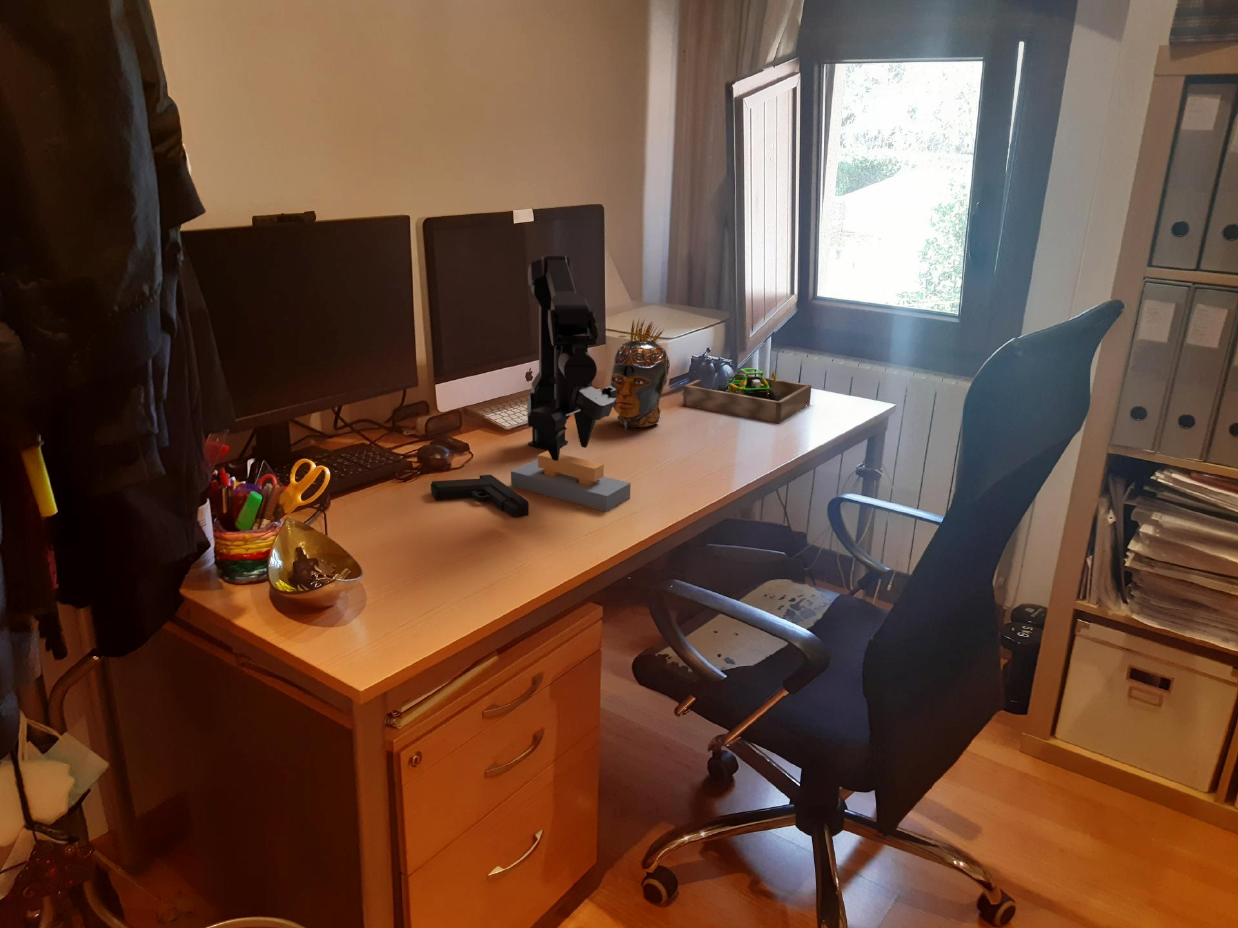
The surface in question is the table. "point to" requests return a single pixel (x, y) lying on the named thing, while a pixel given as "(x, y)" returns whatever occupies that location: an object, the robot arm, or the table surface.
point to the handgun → (482, 493)
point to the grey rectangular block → (571, 487)
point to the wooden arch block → (571, 468)
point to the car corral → (750, 400)
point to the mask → (639, 378)
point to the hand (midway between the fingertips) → (570, 453)
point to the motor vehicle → (752, 386)
